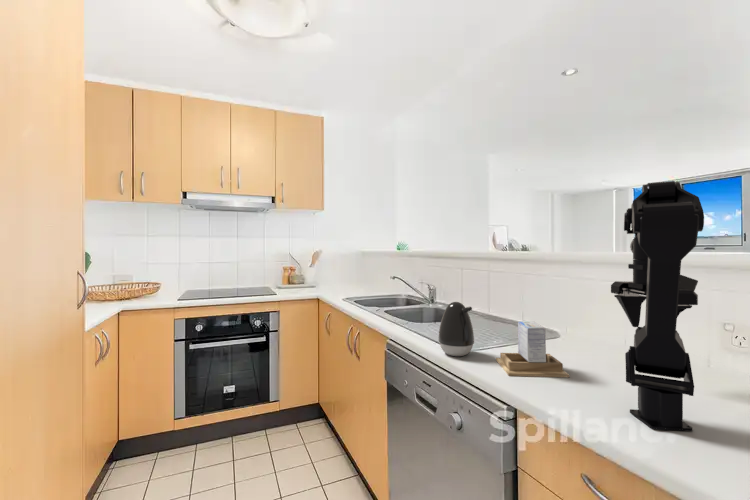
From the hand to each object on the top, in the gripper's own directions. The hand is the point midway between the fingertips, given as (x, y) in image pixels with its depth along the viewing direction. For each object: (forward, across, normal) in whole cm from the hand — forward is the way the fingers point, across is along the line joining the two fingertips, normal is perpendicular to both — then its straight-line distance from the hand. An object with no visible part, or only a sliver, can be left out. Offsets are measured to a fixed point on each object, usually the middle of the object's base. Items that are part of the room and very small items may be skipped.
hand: (649, 331), depth 77 cm
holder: (+12, +12, +21) cm, 27 cm away
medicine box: (+10, +12, +21) cm, 26 cm away
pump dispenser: (+13, +23, +38) cm, 46 cm away
